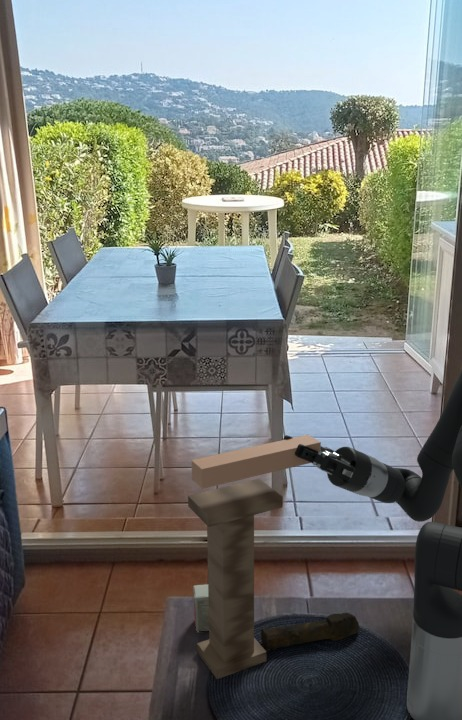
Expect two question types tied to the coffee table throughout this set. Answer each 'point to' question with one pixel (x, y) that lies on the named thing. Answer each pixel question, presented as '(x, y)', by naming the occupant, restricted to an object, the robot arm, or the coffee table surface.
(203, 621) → the small box
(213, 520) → the stand
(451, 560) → the robot arm
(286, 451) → the bar
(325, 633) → the hand tool
